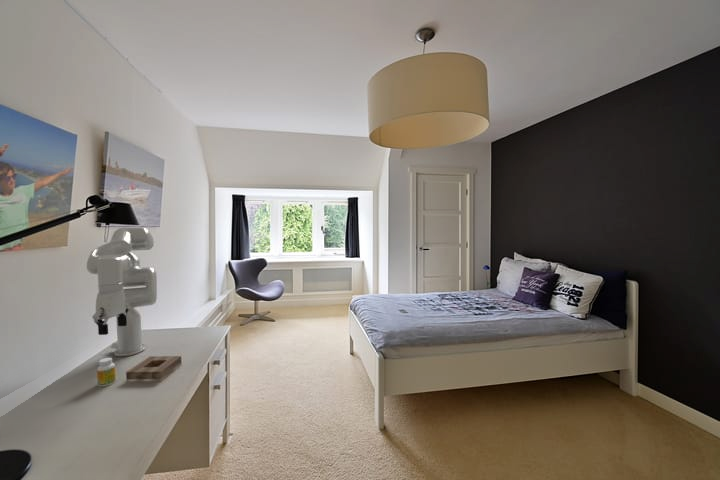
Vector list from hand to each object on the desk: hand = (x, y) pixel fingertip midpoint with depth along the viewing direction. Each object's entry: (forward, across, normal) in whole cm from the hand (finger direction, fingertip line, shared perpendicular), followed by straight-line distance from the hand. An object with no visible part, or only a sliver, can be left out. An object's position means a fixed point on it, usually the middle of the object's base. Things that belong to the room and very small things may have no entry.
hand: (113, 330), depth 120 cm
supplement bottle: (+21, +2, -2) cm, 22 cm away
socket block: (+21, -6, +12) cm, 25 cm away
